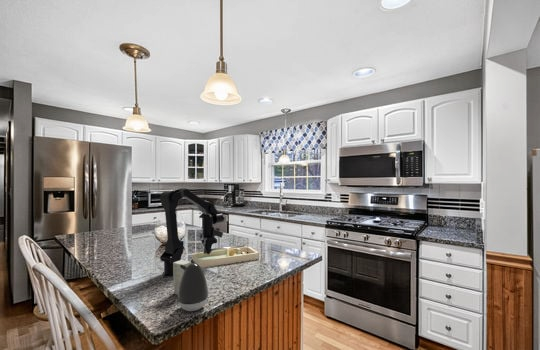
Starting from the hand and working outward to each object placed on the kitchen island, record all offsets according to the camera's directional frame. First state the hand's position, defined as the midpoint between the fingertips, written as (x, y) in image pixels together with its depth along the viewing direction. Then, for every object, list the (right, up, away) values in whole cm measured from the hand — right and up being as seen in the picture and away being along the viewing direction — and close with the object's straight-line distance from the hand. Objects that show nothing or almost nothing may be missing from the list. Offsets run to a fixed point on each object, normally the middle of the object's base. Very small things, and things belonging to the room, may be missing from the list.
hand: (207, 253), depth 139 cm
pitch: (+9, -4, +3) cm, 11 cm away
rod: (+9, -3, +4) cm, 10 cm away
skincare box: (0, -3, -40) cm, 40 cm away
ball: (+12, -2, +6) cm, 14 cm away
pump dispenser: (+8, -3, -52) cm, 52 cm away
